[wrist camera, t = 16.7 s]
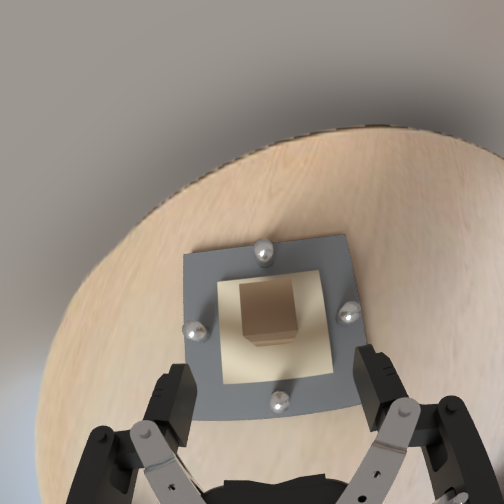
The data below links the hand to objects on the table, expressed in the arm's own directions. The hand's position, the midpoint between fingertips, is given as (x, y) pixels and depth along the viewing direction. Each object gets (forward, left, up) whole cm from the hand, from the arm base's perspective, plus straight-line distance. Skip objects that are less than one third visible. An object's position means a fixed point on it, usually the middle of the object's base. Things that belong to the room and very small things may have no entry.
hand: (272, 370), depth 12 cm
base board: (-3, -2, -12) cm, 13 cm away
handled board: (-3, -2, -11) cm, 11 cm away
